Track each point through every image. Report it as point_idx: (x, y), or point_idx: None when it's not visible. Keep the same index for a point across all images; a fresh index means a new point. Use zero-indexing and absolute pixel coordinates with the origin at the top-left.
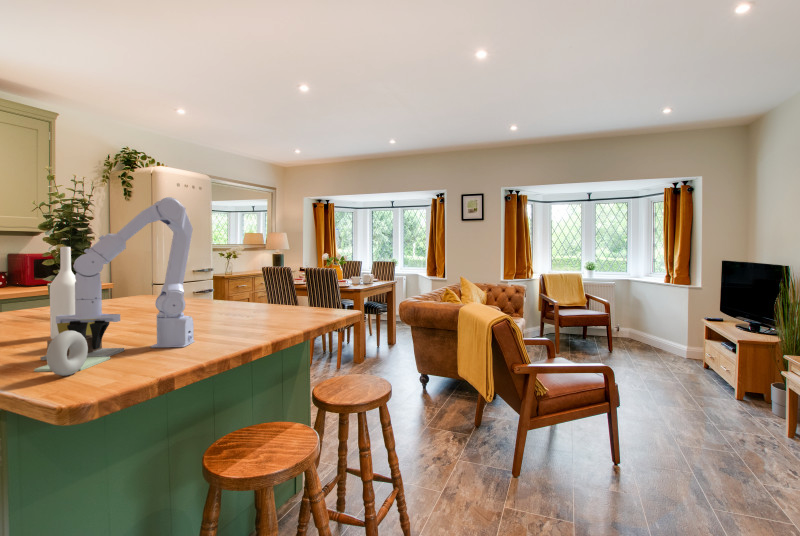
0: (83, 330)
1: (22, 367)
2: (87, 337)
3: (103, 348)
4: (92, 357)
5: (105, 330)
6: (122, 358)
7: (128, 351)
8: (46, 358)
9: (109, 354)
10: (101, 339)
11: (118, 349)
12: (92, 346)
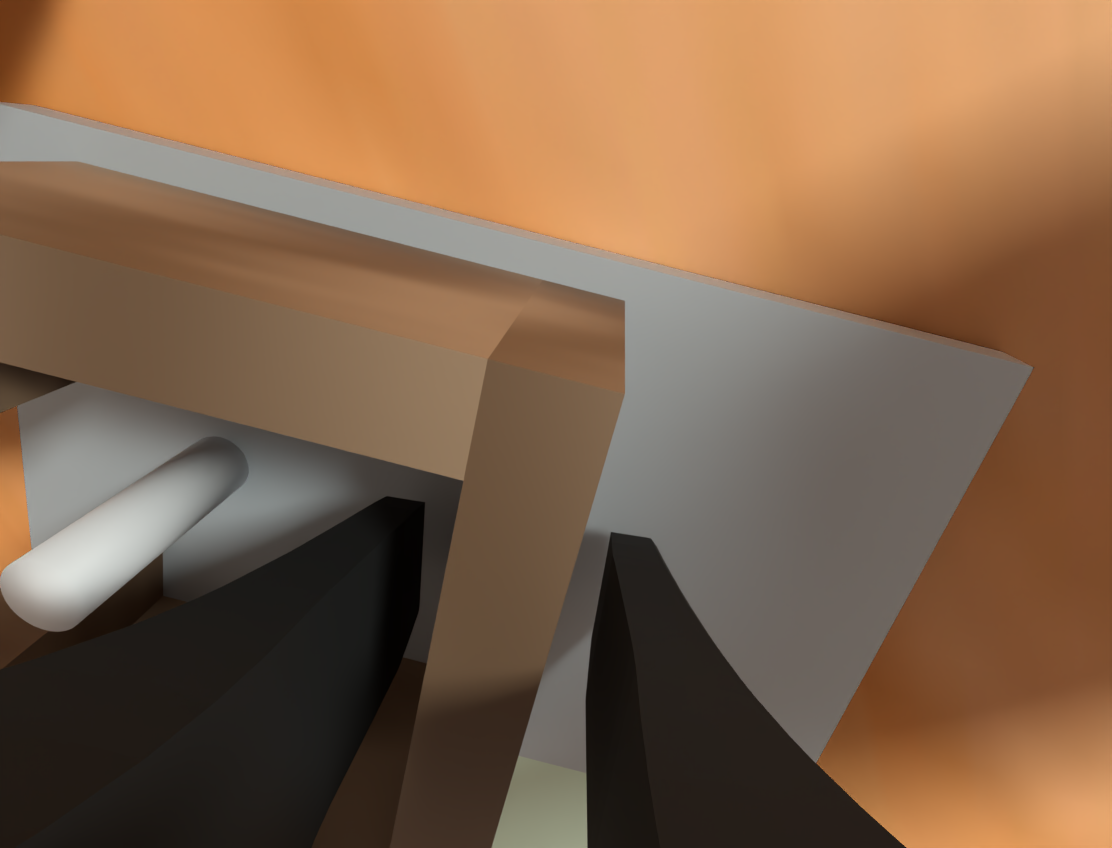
0: (229, 834)
1: None
2: (434, 731)
3: (649, 294)
4: None
5: (843, 796)
6: (1001, 830)
7: (1071, 431)
8: None
9: (836, 706)
10: (697, 627)
11: (937, 482)
12: (587, 689)
